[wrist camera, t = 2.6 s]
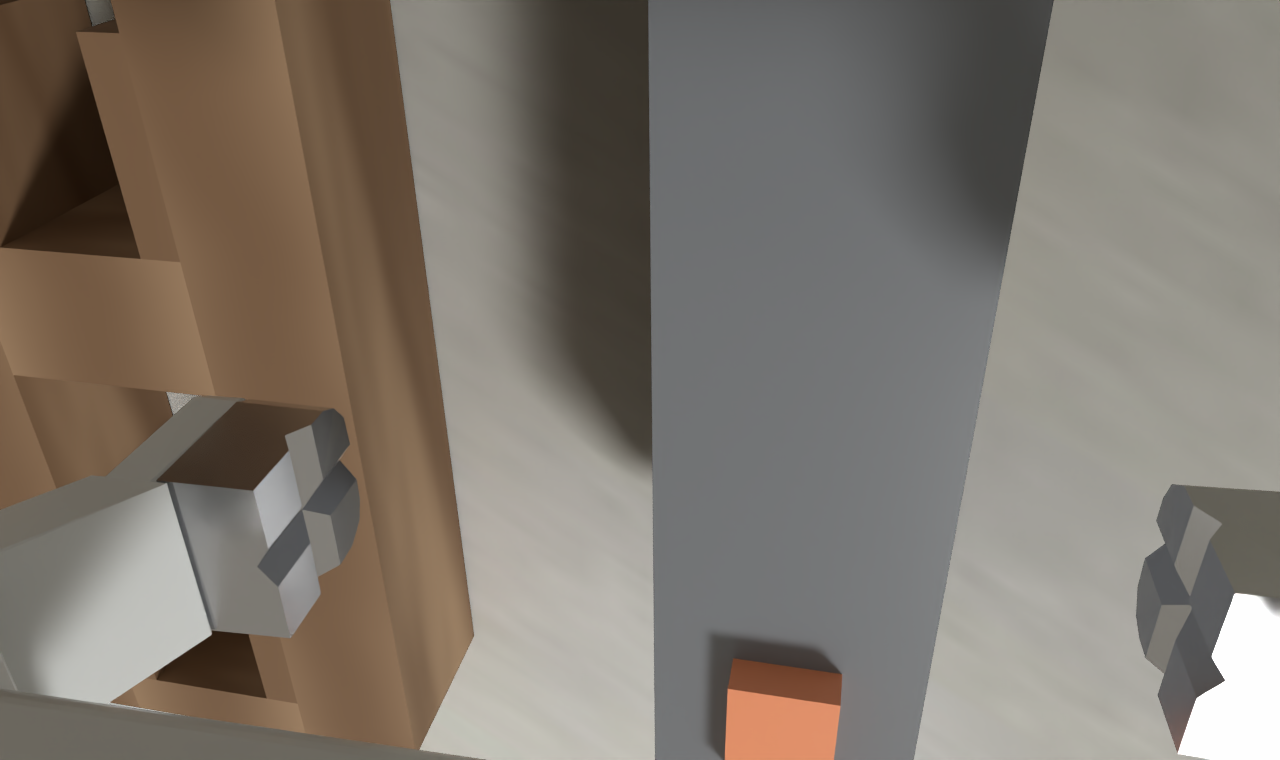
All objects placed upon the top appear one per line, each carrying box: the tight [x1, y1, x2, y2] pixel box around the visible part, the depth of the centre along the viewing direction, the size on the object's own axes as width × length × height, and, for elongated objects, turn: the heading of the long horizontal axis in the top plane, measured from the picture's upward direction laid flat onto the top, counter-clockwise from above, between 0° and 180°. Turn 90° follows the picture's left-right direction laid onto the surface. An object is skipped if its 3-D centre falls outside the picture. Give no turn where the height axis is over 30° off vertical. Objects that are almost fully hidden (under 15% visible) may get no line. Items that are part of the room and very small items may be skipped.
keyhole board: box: [0, 0, 474, 750], centre depth 18 cm, size 9×21×4 cm, turn 1°
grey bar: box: [648, 0, 1054, 760], centre depth 14 cm, size 4×16×6 cm, turn 1°
